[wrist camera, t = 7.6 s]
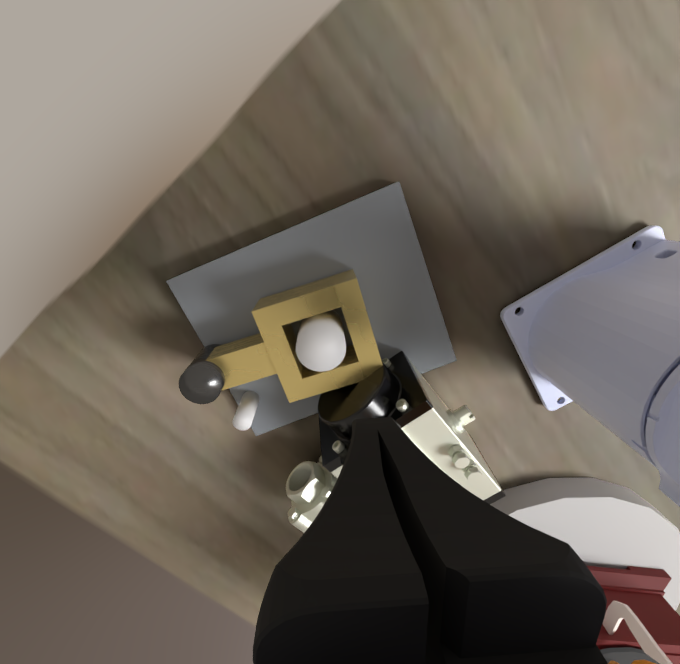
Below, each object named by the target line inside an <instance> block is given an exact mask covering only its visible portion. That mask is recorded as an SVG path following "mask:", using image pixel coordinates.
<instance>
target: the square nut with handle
mask: <svg viewBox="0 0 680 664" xmlns="http://www.w3.org/2000/svg"><path fill="white" fill-rule="evenodd" d="M340 307H341V308H342V311H343V314H344V317H345V320H346V324H347V327H348V330H349V333H350V336H351V339H352V342H353V345H351V346H347V347H346V354H345V357H344V359H343V360H342V362H341V363H340V364H339V365H338V366H337V367H335V368H334V369H331V370H329V371H323V372H318V371H313V370H311V369H308V368H307V367H305V366H304V365H303V364H302V363H301V362H300V361H299V359H298V357H297V354H296V342H297V338H296V336H295V333H294V330H293V328H292V325H291V323H292V322H295V321H298V320H302V319H305V318H308V317H311V316H314V315H317V314H321V313H324V312H327V311H330V310H333V309H337V308H340ZM252 314H253V317H254V319H255V322H256V324H257V326H258V329H259V331H260V333H259V334H255V335H252V336H249V337H246V338H243V339H240V340H236V341H233V342H230V343H227V344H224V345H218V344H212V345H208V346H206V347H205V348H203V349H202V350H201V352H200V353H199V354H198V355H197V357H196V358H195V359H194V360H193V362H192V363H191V364H190V365H189V366H188V368H187V369H186V370H185V371H184V373H183V374H182V375H181V377H180V379H179V388H180V391H181V393H182V394H183V396H184V397H185V398H186V399H188V400H189V401H191V402H193V403H197V404H207V403H210V402H212V401H214V400H215V399H216V398H217V397H218V396H219V394H220V392H221V391H222V390H225V389H228V388H232V387H235V386H238V385H242V384H245V383H248V382H251V381H255V380H258V379H261V378H264V377H268V376H271V375H274V374H277V375H278V377H279V379H280V382H281V384H282V387H283V389H284V391H285V394H286V396H287V399H288V401H289V403H291V402H294V401H298V400H301V399H304V398H308V397H311V396H314V395H318V394H321V393H324V392H328V391H331V390H335V389H338V388H341V387H345V386H348V385H351V384H355V383H358V382H360V381H362V380H363V379H365V378H366V377H367V376H369V375H370V374H372V373H373V372H374V371H376V370H377V369H379V368H380V367H382V366H383V364H382V361H381V357H380V354H379V351H378V347H377V344H376V341H375V337H374V334H373V331H372V327H371V324H370V321H369V317H368V314H367V311H366V307H365V304H364V301H363V297H362V294H361V291H360V287H359V284H358V281H357V278H356V275H355V273H354V271H353V269H351V270H348V271H345V272H342V273H339V274H336V275H333V276H330V277H326V278H323V279H320V280H317V281H314V282H311V283H308V284H305V285H301V286H298V287H295V288H292V289H289V290H286V291H283V292H280V293H276V294H273V295H270V296H267V297H264V298H261V299H259V301H258V302H257V304H256V305H255V307H254V308H253V310H252Z"/></svg>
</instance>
